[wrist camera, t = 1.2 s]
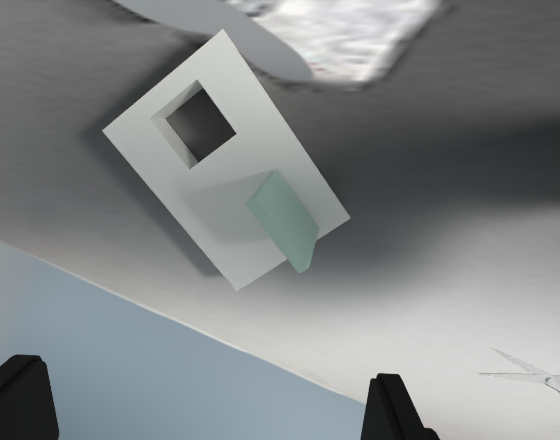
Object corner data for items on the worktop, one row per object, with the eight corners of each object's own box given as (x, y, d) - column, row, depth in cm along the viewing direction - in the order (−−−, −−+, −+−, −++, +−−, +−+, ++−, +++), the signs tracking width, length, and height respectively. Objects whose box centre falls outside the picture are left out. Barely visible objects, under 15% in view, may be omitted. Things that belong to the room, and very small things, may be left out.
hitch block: (230, 40, 30) (223, 28, 27) (343, 207, 35) (350, 218, 31) (123, 129, 33) (102, 130, 29) (241, 274, 38) (236, 291, 34)
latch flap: (269, 175, 30) (277, 169, 30) (310, 233, 32) (319, 228, 31) (245, 203, 24) (255, 197, 23) (298, 273, 25) (308, 268, 25)
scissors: (602, 428, 43) (466, 395, 42) (597, 423, 44) (463, 390, 43) (649, 366, 40) (505, 328, 39) (643, 362, 41) (501, 324, 40)
